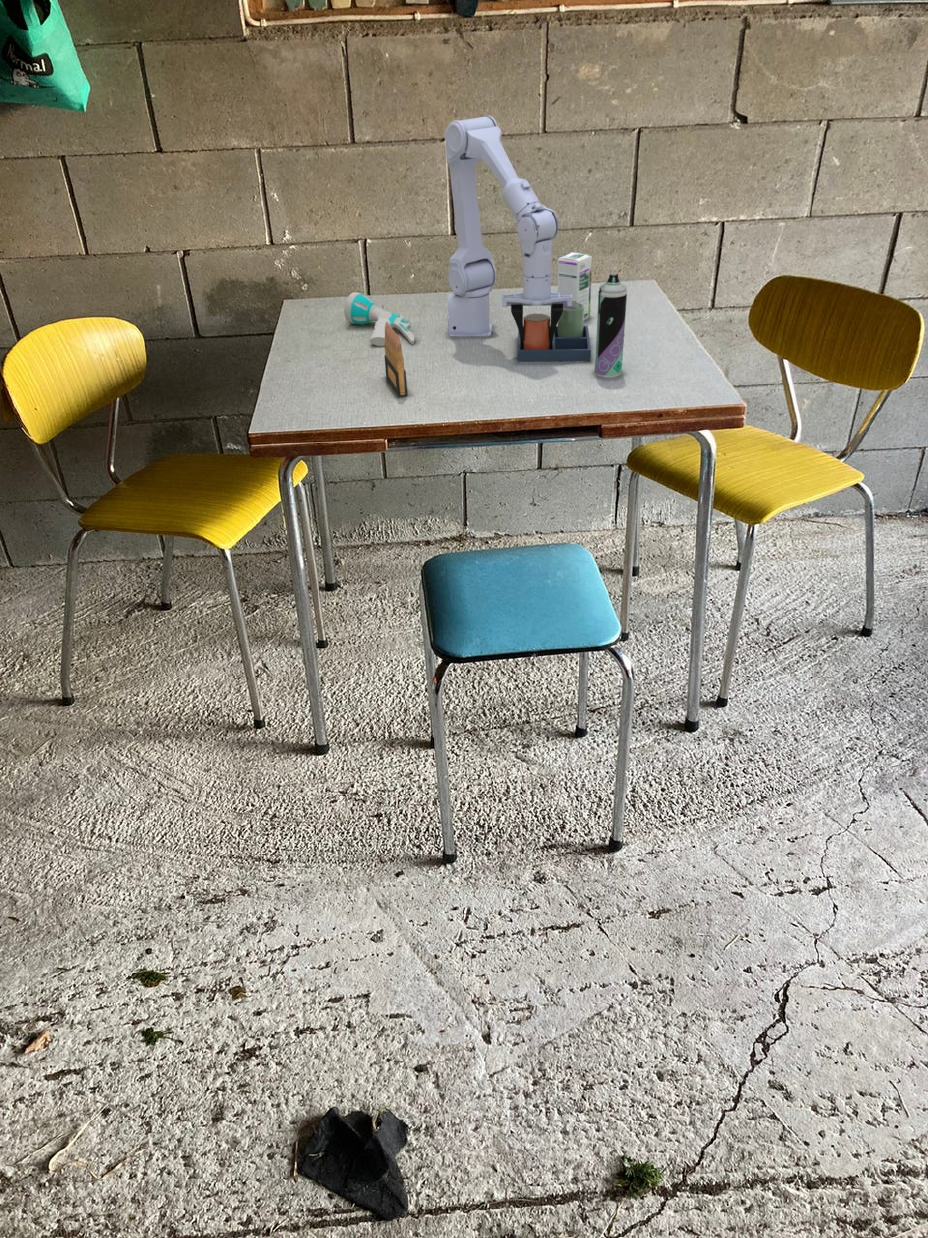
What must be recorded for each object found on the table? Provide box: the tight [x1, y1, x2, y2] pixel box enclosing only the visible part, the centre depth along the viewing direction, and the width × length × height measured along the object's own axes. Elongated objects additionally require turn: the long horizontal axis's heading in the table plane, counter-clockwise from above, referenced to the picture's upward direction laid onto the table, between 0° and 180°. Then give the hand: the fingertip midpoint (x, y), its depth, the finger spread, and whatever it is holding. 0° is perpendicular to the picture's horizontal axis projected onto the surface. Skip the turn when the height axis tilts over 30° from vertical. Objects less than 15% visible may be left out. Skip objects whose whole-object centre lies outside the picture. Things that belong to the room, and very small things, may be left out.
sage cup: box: [557, 302, 585, 338], centre depth 205 cm, size 6×6×8 cm
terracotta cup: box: [523, 313, 551, 350], centre depth 200 cm, size 6×6×8 cm
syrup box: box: [557, 251, 593, 320], centre depth 217 cm, size 6×6×14 cm
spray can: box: [594, 273, 628, 378], centre depth 187 cm, size 6×6×20 cm
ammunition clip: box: [384, 322, 408, 398], centre depth 188 cm, size 11×2×12 cm, turn 18°
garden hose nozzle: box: [343, 291, 416, 347], centre depth 218 cm, size 7×18×20 cm
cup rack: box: [516, 325, 592, 363], centre depth 204 cm, size 15×15×3 cm
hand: (536, 339), depth 200 cm, fingers closed on terracotta cup, 5 cm apart
